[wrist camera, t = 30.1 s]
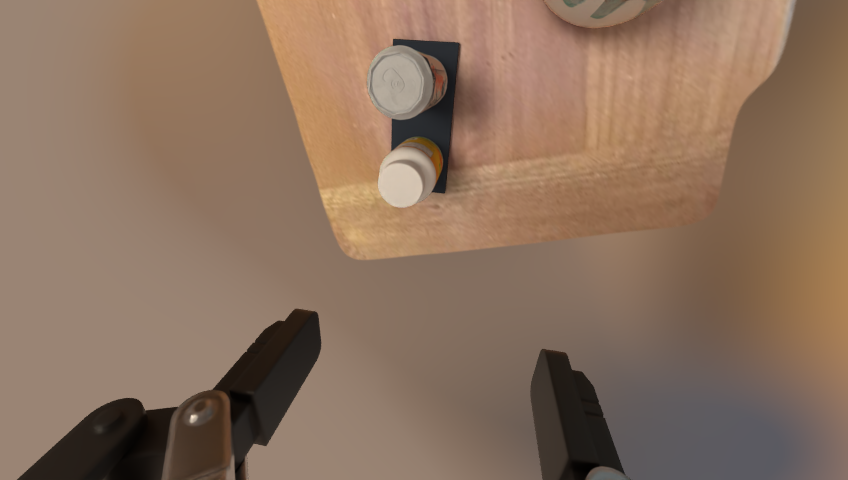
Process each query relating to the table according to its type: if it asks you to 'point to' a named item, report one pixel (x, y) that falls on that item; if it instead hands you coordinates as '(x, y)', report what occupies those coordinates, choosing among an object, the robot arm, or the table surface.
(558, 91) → the table surface
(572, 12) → the vase
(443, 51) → the dark rectangular strip
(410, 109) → the beige cylinder
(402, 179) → the supplement bottle
